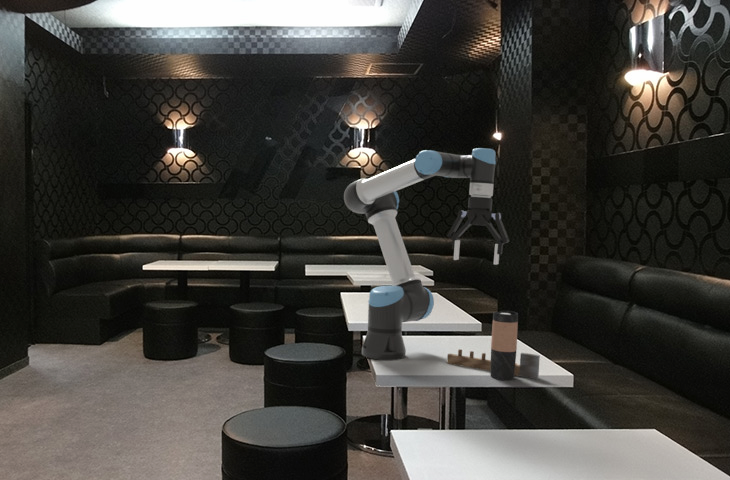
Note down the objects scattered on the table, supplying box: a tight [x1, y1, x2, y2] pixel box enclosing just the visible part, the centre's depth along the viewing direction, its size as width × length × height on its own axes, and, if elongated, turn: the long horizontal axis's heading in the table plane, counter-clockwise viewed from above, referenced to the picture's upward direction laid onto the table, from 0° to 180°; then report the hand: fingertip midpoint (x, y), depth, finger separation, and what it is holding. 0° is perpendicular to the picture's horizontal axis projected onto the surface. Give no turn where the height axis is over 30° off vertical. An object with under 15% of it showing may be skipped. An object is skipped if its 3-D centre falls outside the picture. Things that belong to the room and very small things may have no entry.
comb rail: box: [446, 349, 541, 380], centre depth 193 cm, size 30×2×7 cm, turn 61°
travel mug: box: [490, 310, 519, 381], centre depth 185 cm, size 8×8×20 cm
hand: (475, 262), depth 196 cm, fingers open, 13 cm apart
